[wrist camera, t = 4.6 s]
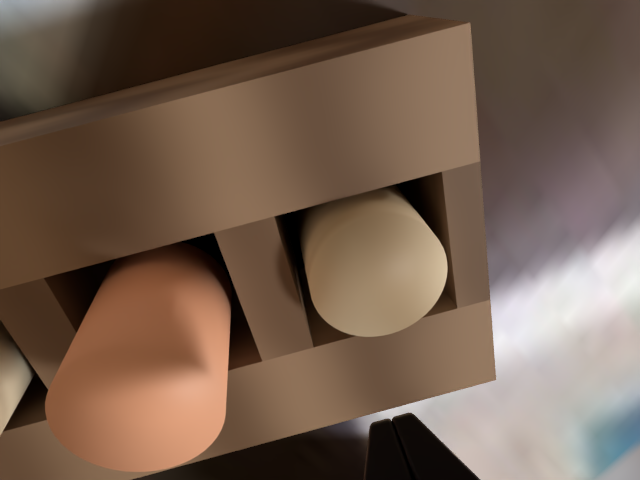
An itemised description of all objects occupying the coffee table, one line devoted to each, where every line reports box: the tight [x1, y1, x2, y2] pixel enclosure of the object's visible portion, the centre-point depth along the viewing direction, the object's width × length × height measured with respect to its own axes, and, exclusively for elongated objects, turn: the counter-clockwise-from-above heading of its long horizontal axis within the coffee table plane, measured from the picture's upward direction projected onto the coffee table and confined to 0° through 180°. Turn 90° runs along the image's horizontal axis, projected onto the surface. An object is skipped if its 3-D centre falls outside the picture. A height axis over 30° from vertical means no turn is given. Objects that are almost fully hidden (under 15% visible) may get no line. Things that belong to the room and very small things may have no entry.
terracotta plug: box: [45, 242, 232, 472], centre depth 13 cm, size 4×4×5 cm
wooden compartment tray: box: [0, 15, 496, 480], centre depth 17 cm, size 20×12×5 cm, turn 103°
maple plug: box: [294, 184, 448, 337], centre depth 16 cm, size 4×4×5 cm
